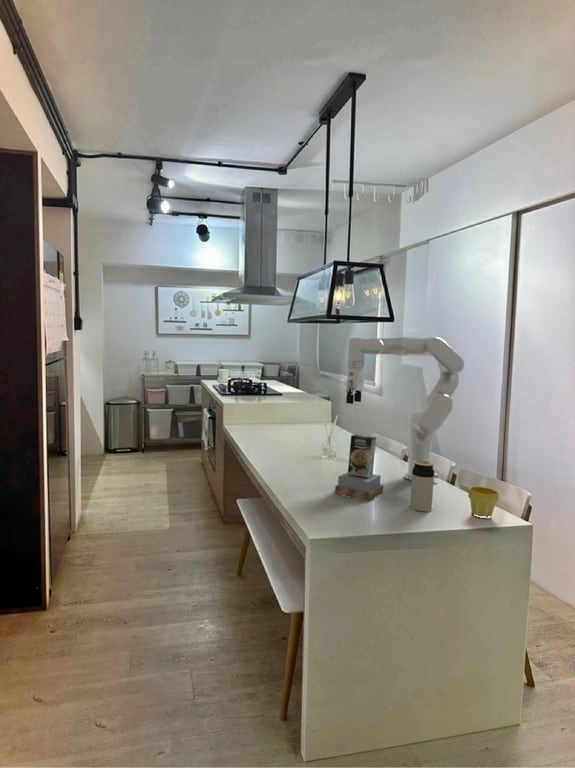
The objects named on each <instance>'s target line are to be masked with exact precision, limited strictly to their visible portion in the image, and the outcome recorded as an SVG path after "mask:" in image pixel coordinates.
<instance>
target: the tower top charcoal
mask: <svg viewBox="0 0 575 768" xmlns="http://www.w3.org/2000/svg"><path fill="white" fill-rule="evenodd" d="M337 478H338V479H337V480H338V481H337V485H338V486H341V487H345V488H350V489H355V490H359V491H364V492H369V491H371V490H372V489H374V488H376V487H378V486H379V485H380V484H381V475H379V474H375V473H373V476H371V477H369V478H366V477H360V476H355V475H350V474H348V471H347V472H344V473H342V474H340V475H338V477H337Z"/></svg>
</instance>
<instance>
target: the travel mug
mask: <svg viewBox="0 0 575 768" xmlns="http://www.w3.org/2000/svg"><path fill="white" fill-rule="evenodd" d="M414 464H415V466H414V468H413V470H412V480H411V489H410V501H409V508H411V509H412V508H413V509H415V510H414V511H416V510H420V511H419V512H421V511H427V512H429V511H428V510H430V511H432V508H433V506H432V505H433V495H434V494H433V493H434V483H435V480H434V479H435V478H434V473H435V470H434V465H435V463H434V461H431V460H430V461H427V460H415V461H414ZM413 509H412V510H413Z"/></svg>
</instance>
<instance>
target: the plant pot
mask: <svg viewBox="0 0 575 768" xmlns="http://www.w3.org/2000/svg"><path fill="white" fill-rule="evenodd" d="M467 496H468V498H469V500H470V509H471V514H472V513H473V514H475V515H478V516H486V517H488V516H491V517H492V516H493V513H494V510H495V507H496V504H497V503H498V502H499V499H500V498H499V497H500V492H499V491H498V490H496V489H495V488H494V489H493V488H490V487H487V486H485V487H484V486H470V487H469V488H468V494H467Z"/></svg>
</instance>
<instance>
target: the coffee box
mask: <svg viewBox="0 0 575 768" xmlns="http://www.w3.org/2000/svg"><path fill="white" fill-rule="evenodd" d="M376 443H377V437H374V436H367V435H361V434H352V435H350V444H349V445H350V446H349V455H348V466H347V467H348V469H347V472H348V474H350V475H355V476H360V477H366V478H369V477H371V476H373V474H374V466H375V465H374V464H375V455H376V445H377V444H376Z"/></svg>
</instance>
